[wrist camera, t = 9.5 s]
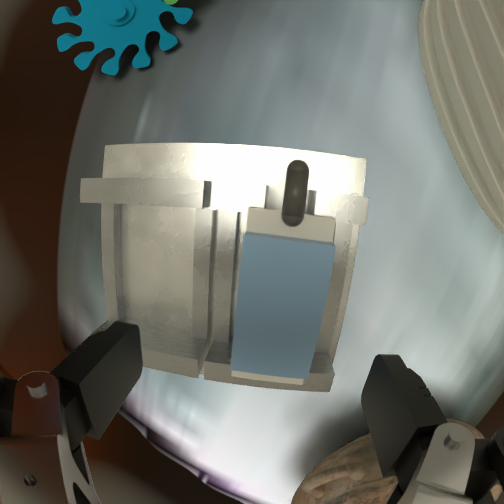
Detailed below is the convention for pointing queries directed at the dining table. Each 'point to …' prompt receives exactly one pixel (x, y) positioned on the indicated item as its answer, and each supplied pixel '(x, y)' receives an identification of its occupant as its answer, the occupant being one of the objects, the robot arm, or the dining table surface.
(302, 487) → the cooking pot
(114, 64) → the gear
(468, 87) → the plate stack
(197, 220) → the plate
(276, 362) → the block
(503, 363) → the dining table surface
